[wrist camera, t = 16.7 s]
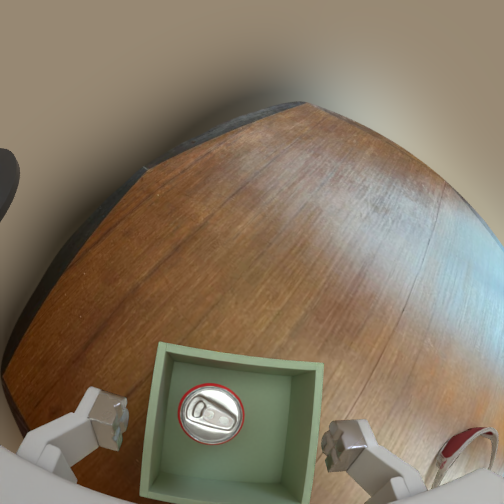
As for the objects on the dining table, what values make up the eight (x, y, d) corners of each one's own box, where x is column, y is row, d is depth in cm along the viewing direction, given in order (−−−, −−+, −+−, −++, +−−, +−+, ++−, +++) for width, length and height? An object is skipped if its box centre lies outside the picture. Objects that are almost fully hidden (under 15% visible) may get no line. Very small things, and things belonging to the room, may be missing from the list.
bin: (153, 473, 25) (139, 496, 17) (169, 353, 32) (158, 341, 25) (284, 486, 26) (308, 509, 19) (296, 371, 34) (324, 362, 26)
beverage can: (197, 378, 31) (193, 371, 20) (238, 396, 31) (256, 399, 20) (178, 416, 28) (165, 429, 18) (220, 435, 28) (229, 456, 18)
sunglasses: (488, 413, 32) (507, 415, 28) (471, 488, 27) (488, 493, 23) (426, 441, 30) (448, 447, 25) (407, 522, 25) (424, 533, 20)
